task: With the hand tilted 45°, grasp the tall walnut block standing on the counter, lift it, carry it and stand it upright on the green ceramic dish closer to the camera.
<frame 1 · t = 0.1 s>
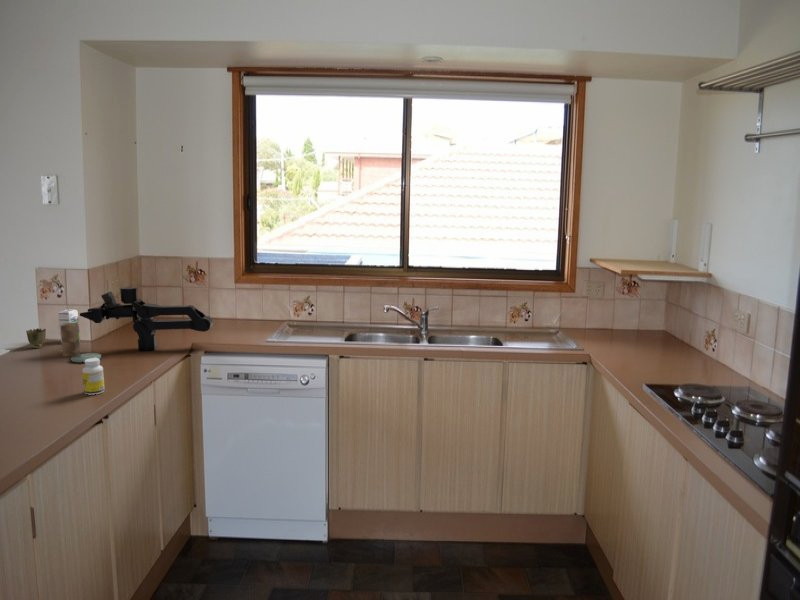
hand: (83, 312, 282), 17 cm above the countertop, tool horizontal, fingers open, 9 cm apart
pill bottle: (94, 393, 228), on the countertop
syrup box: (70, 342, 299), on the countertop
cup: (37, 348, 288), on the countertop
walnut block: (71, 354, 277), on the countertop
dish: (86, 359, 269), on the countertop
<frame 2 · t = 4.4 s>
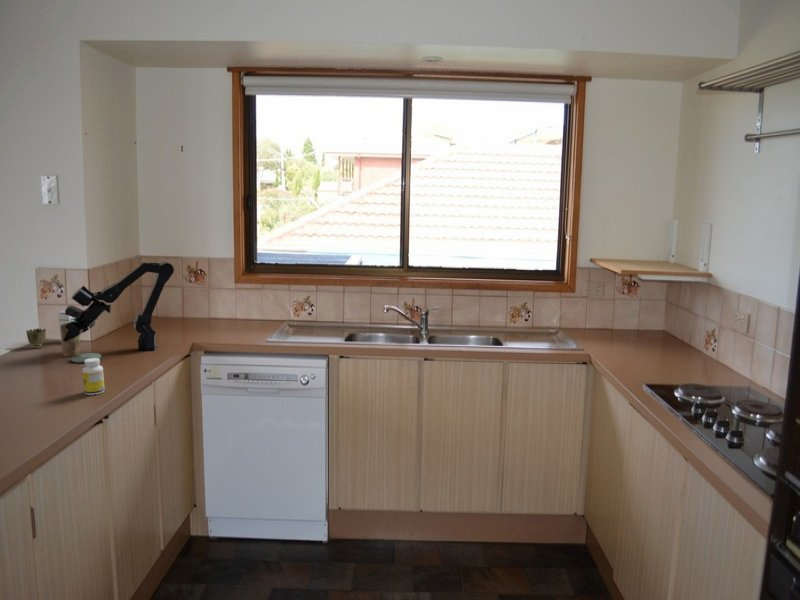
hand: (66, 339, 276), 7 cm above the countertop, tool tilted 45°, fingers closed on walnut block, 5 cm apart
walnut block: (71, 354, 277), on the countertop, touching gripper
everything else where it was.
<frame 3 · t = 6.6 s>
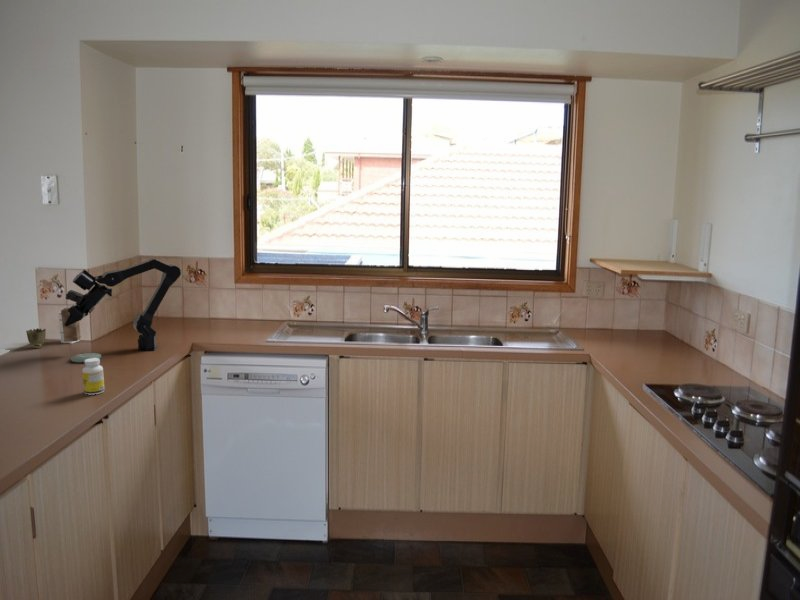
hand: (67, 324, 273), 13 cm above the countertop, tool tilted 45°, fingers closed on walnut block, 5 cm apart
walnut block: (72, 339, 275), point 7 cm above the countertop, touching gripper
everything else where it was.
when the fingers open (9 cm above the countertop, at t = 9.2 s): walnut block drops 1 cm, resting on dish.
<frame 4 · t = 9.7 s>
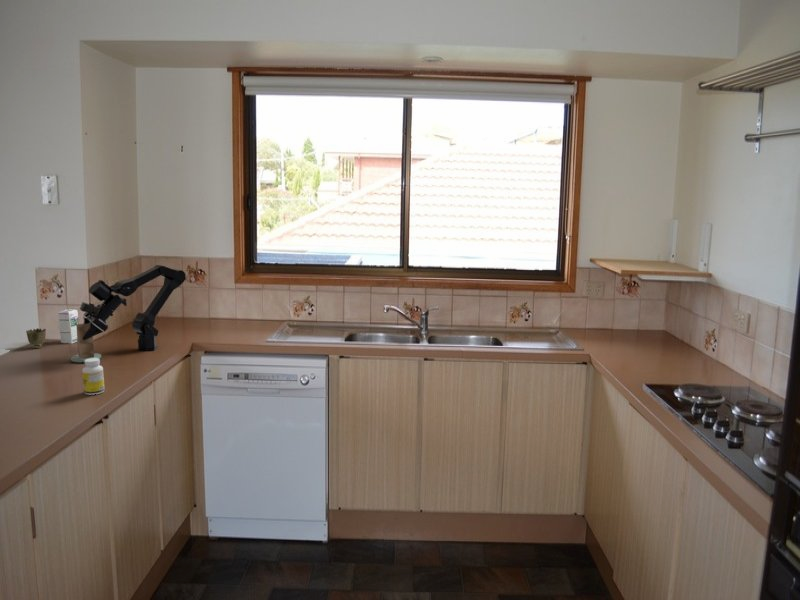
hand: (80, 337, 267), 10 cm above the countertop, tool tilted 45°, fingers open, 9 cm apart
walnut block: (86, 356, 269), point 1 cm above the countertop, touching dish
everything else where it was.
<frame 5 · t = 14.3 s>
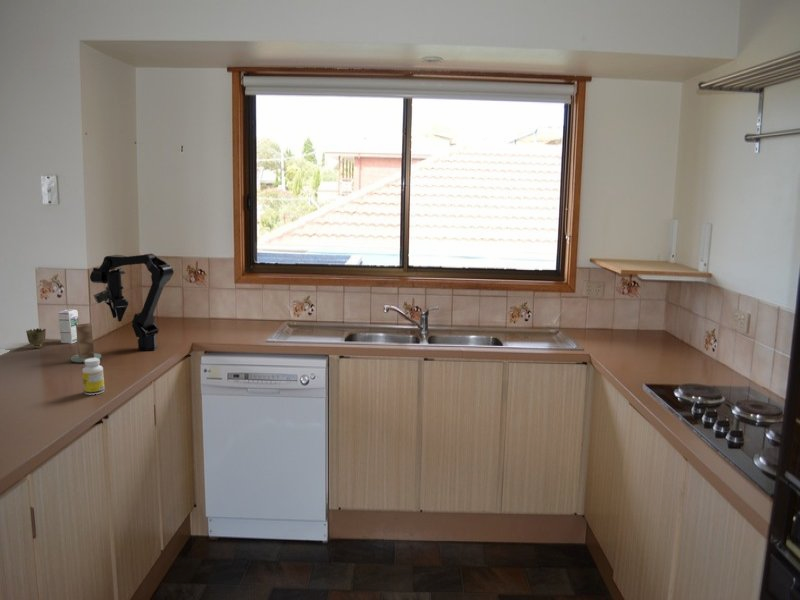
hand: (117, 319, 290), 12 cm above the countertop, tool pointing down, fingers open, 9 cm apart
nothing on the countertop moved.
at the end: walnut block inside the target area on the dish (0.0 cm from its centre), point 1.4 cm above the dish's base; walnut block tilted 0°; the gripper is holding nothing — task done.
